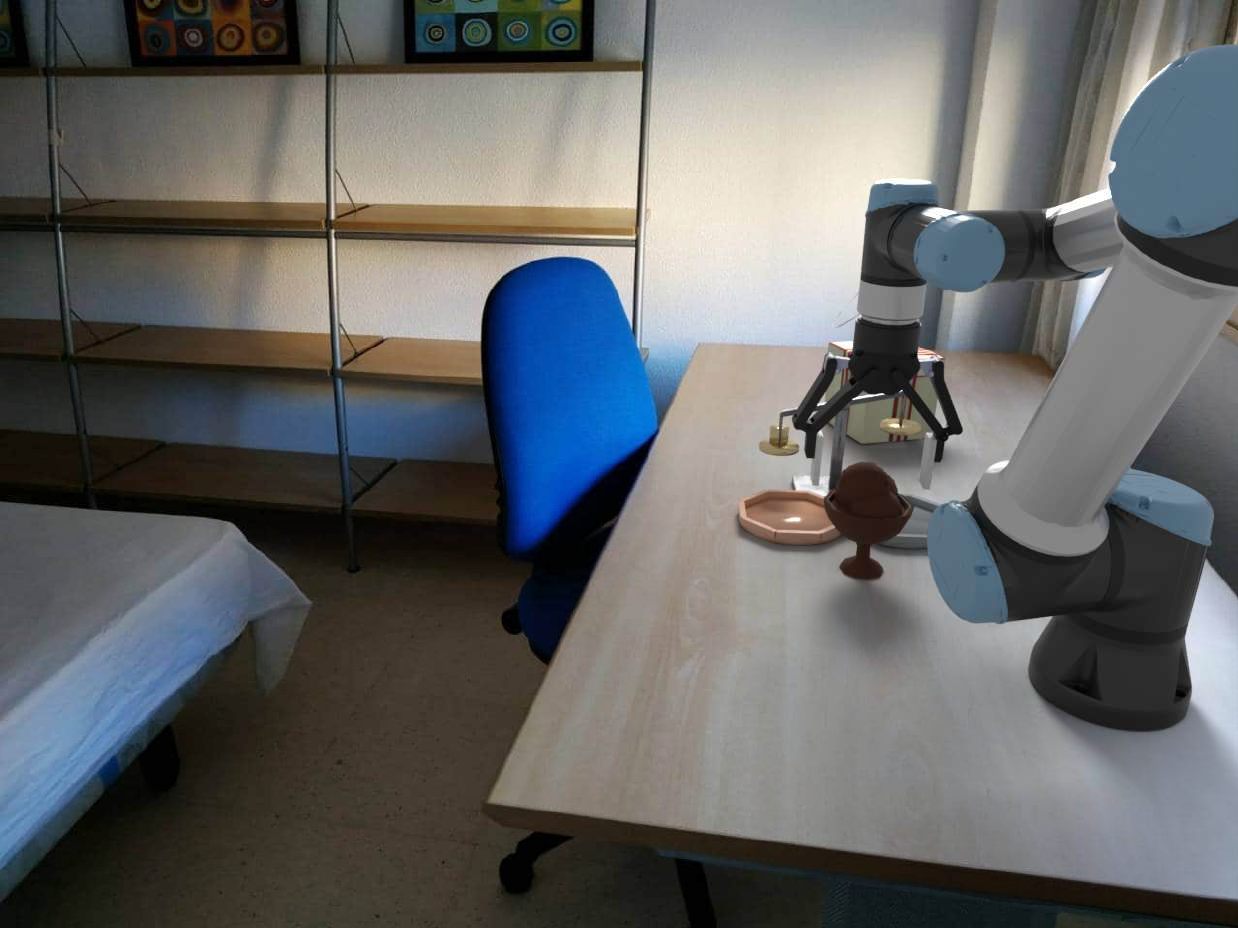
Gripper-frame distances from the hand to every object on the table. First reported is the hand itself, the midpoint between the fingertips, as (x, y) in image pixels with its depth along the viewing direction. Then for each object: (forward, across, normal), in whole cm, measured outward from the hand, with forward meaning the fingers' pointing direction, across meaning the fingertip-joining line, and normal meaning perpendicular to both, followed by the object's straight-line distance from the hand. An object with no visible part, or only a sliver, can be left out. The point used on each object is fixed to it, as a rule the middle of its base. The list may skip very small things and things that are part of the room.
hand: (869, 483), depth 122 cm
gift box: (+13, -13, -56) cm, 59 cm away
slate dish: (+12, -8, -13) cm, 20 cm away
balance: (+12, 0, -24) cm, 27 cm away
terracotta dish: (+12, +7, -13) cm, 19 cm away
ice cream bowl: (+12, 0, +1) cm, 12 cm away
